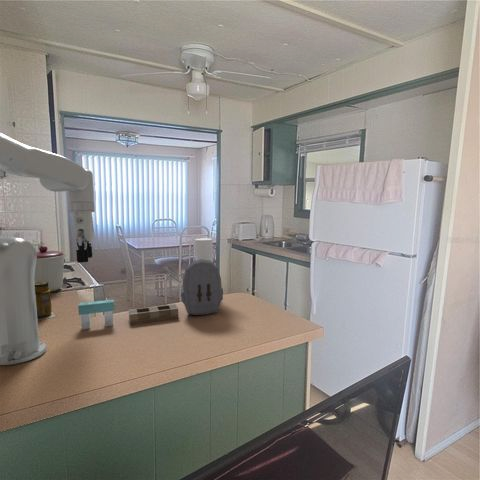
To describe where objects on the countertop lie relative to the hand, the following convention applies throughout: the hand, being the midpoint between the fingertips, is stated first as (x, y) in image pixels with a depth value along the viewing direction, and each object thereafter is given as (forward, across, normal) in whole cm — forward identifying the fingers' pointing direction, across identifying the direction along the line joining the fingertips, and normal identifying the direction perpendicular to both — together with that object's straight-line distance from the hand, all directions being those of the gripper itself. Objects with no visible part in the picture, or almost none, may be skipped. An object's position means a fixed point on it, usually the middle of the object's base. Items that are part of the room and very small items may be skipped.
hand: (85, 259), depth 112 cm
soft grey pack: (+22, -3, -38) cm, 44 cm away
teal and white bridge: (+22, -4, -3) cm, 22 cm away
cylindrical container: (+22, +16, -43) cm, 51 cm away
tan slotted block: (+22, -2, -21) cm, 30 cm away
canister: (+22, +55, +26) cm, 64 cm away
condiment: (+22, +13, +17) cm, 31 cm away
